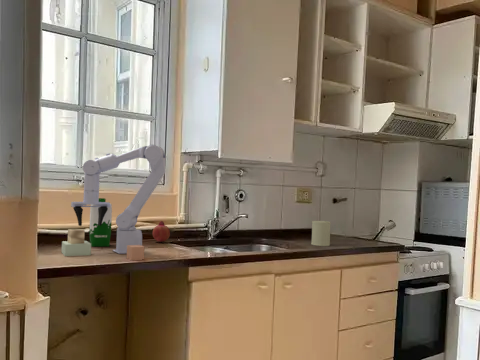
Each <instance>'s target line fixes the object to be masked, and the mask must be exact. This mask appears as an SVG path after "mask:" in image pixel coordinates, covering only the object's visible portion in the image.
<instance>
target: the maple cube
mask: <svg viewBox="0 0 480 360" xmlns="http://www.w3.org/2000/svg"><path fill="white" fill-rule="evenodd" d="M85 232H86V231H85V229H82V228H78V229H77V228H76V229H75V228H70V229H69V228H68V229H67V241H68V243H70V244H78V243H84V241H85V236H86V235H85Z"/></svg>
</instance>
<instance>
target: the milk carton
mask: <svg viewBox="0 0 480 360" xmlns="http://www.w3.org/2000/svg"><path fill="white" fill-rule="evenodd" d="M106 200H107V199H106V198H104V197H102V198H101V197H99V202H107V201H106ZM90 206H98V205H90ZM112 206H113V205H112V203H110V207H107V208H108V210H107V212H106V214H105V216H104V218H103V221H102V225H101V226H99V225H98V218H99V213H98V208H99V207H89V208H90V210H89V226H88V228H89V233H88V234H89V243H91V248H93V247H95V248H96V247H97V248H98V247H102V248H103V247H110V243H111V236H112V221H113V220H112V219H113V215H112V214H113V207H112Z"/></svg>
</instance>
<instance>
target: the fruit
mask: <svg viewBox="0 0 480 360" xmlns="http://www.w3.org/2000/svg"><path fill="white" fill-rule="evenodd" d="M170 231H171V230H170V228H169V227H168V226H167V225H165V223H164V221H163V220H160V221H159V223H158V224H157V225H155V226H154V227H153V230H152V237H153V239H154V240H155V241H157V242H159V243H162V242H166V241H167V240H168V239H169V238H170V236H171V232H170Z"/></svg>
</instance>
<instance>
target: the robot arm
mask: <svg viewBox="0 0 480 360" xmlns="http://www.w3.org/2000/svg"><path fill="white" fill-rule="evenodd" d="M135 159H136V160H137V159H145V160H147V162H148V163H149V167H150V170H151V171H150V172H149V174H148V176H147V177H146V179H145V181H144V182H143V183H142V185H141V187H140V188H139V190H138V191H137V193H136V195H134V197H133V199H132V200H131V202H130V203H129V204H128V205H127V207H126V208H125V209H124V210H123V212H121V213H120V214H118V215H117V217H116V218H115V224H116V226H117V229H116V243H115V245H116V246H115V247H116V248H115V249H112V252H115V253H116V254H127V245H141V246H143V233H142V232H143V231H142V230H141V229H137V227H136V225H137V223H138V218H139V216H140V214H141V211H142V209H143V207H144V206H145V204H146V203H147V201H148V200H149V199H150V197H151V195H152V194H153V193H154V190H156V188H157V186H158V185H159V184H160V182H161V180H162V178H163V177H164V176H165V174H166V159H167V156H166V153H165V150H164V149H163V148H162V147H160V146H158V145H156V144H149V145H144V146H140V147H137V148H134V149H132V150H128V151H126V152H123V153H121V154H117V155H116V154H114V153H106V154H105V156H101V157H95V158H94V159H88V160H87V161H85V162H84V163H83V165H82V170H83V172H84V179H83V200H82V201H71V203H70V207H72V208H73V211H74V213H75V216H76V219H77V223H78V226H79V227H82V225H83V211H84V209H83V208H90V207H99V208H98V213H99V218H98V225H99V226H101V225H102V221H103V218H104V216H105V214H106V212H107V210H108V208H107V207H110V204H111V203H110V202H109V201H106V202H99V198H100V176H101V175H100V174H101V173H105V172H108V171H110V170H113V169H117V168H119V166H120V164H122V163H125V162H130V161H132V160H135ZM91 205H98V206H91Z"/></svg>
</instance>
